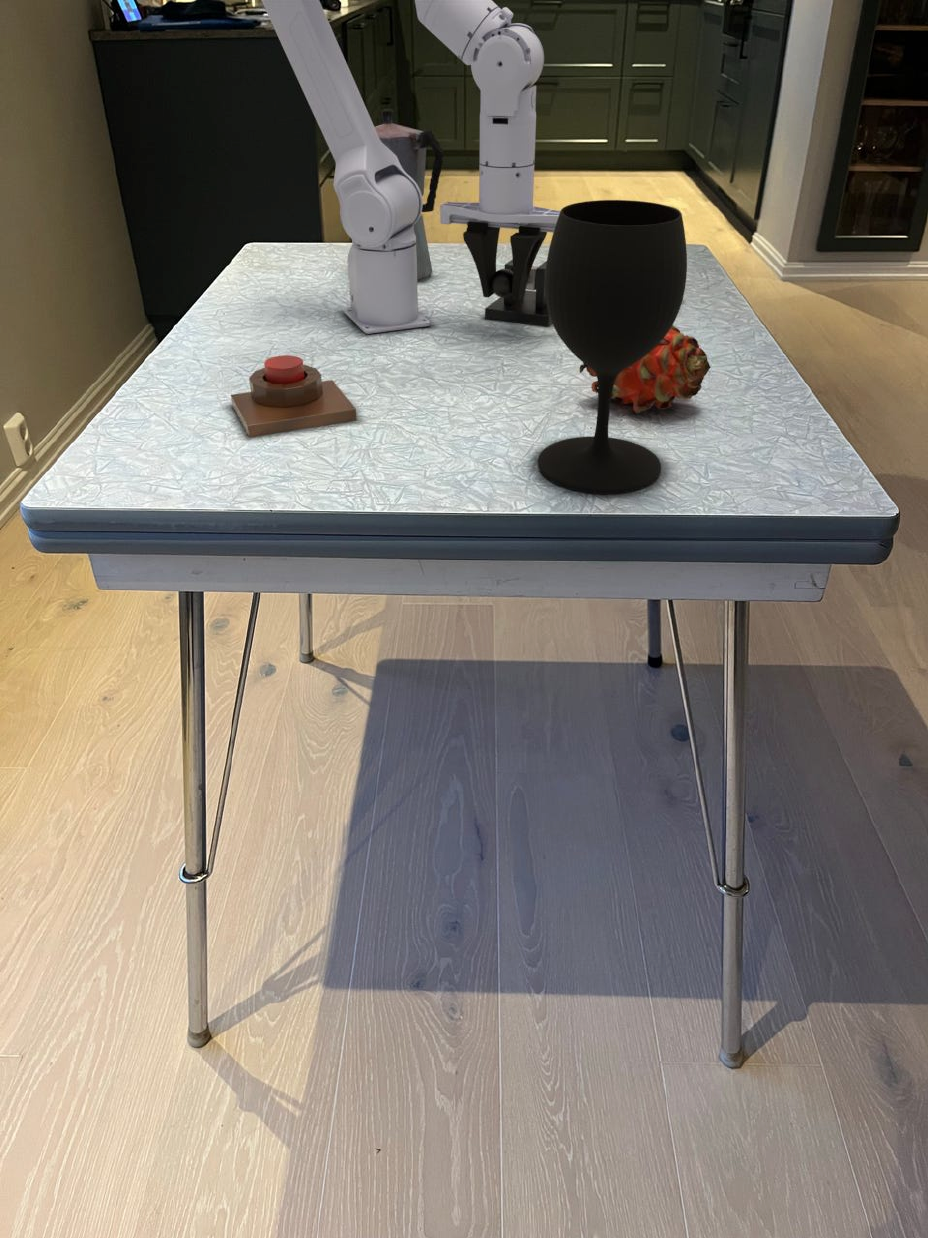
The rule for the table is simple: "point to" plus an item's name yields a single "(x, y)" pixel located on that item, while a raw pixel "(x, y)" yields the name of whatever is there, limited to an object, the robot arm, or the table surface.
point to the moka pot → (414, 173)
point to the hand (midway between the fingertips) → (504, 296)
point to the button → (284, 369)
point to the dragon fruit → (661, 374)
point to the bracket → (523, 304)
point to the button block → (291, 404)
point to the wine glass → (611, 322)
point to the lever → (510, 282)
